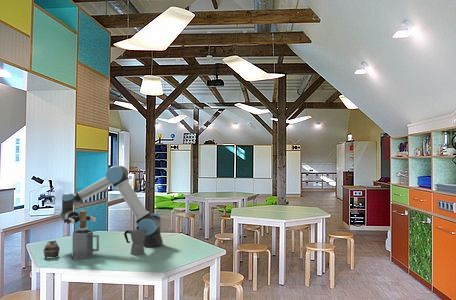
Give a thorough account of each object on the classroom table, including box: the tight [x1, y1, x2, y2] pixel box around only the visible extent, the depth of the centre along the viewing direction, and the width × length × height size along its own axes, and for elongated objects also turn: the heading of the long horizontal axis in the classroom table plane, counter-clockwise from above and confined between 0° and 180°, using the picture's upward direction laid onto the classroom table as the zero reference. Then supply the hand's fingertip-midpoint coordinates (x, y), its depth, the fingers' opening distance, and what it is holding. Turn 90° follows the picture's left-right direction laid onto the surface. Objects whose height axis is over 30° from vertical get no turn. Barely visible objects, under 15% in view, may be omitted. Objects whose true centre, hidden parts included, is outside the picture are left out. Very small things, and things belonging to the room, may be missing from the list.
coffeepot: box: [123, 225, 148, 256], centre depth 257 cm, size 15×9×18 cm, turn 107°
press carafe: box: [71, 229, 100, 260], centre depth 249 cm, size 16×13×16 cm
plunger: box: [77, 209, 89, 233], centre depth 250 cm, size 8×8×23 cm
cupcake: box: [43, 240, 60, 258], centre depth 250 cm, size 10×10×10 cm
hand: (84, 220), depth 248 cm, fingers open, 13 cm apart
